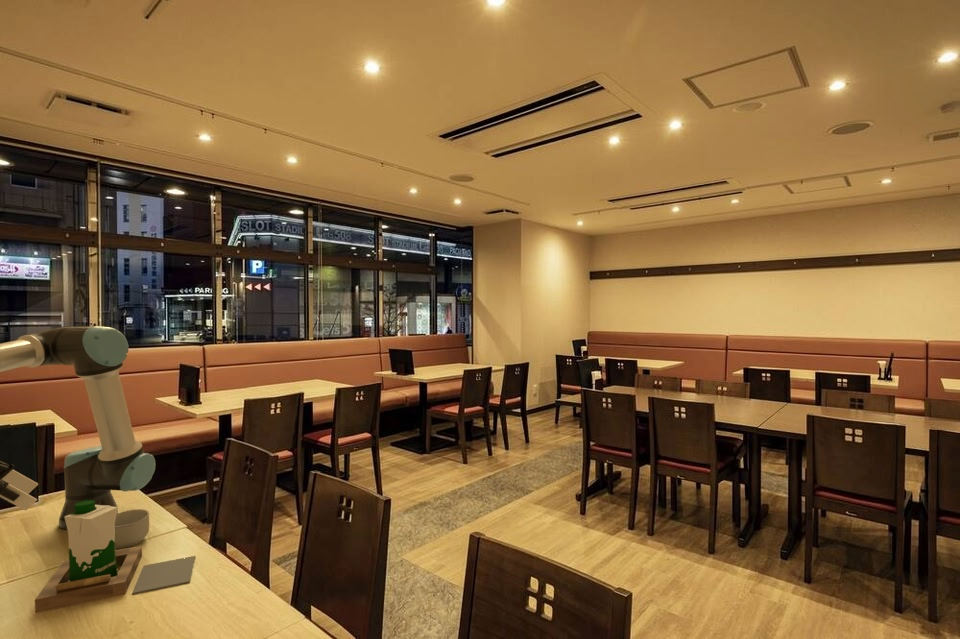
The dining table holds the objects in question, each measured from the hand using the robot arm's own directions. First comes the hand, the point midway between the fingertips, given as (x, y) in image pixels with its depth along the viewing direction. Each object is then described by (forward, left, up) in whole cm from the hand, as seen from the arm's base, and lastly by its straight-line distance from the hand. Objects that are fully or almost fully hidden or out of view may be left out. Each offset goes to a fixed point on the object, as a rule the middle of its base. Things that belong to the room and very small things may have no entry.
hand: (32, 496), depth 117 cm
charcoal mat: (+1, +26, -25) cm, 36 cm away
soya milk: (-3, +10, -25) cm, 27 cm away
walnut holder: (-3, +10, -25) cm, 27 cm away
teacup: (-25, +12, -25) cm, 38 cm away
